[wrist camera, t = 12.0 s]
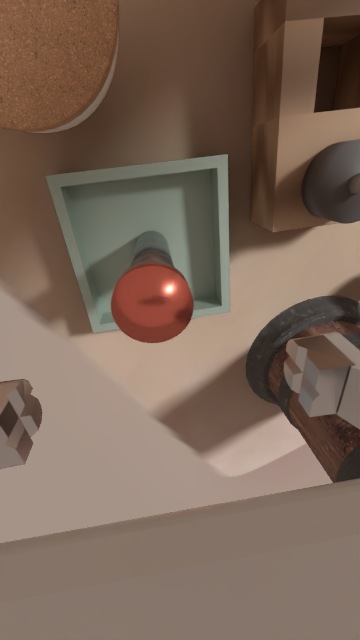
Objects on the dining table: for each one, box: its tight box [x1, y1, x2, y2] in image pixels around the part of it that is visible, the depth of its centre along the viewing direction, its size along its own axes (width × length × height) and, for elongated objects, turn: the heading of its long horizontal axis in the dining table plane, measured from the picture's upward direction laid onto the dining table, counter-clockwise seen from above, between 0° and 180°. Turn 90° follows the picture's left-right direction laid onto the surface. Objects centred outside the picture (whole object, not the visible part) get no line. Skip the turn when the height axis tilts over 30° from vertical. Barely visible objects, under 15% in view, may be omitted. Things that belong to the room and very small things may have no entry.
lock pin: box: [111, 231, 194, 343], centre depth 19 cm, size 4×4×13 cm
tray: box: [45, 154, 230, 333], centre depth 24 cm, size 13×13×3 cm
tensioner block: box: [250, 0, 360, 232], centre depth 19 cm, size 14×9×8 cm, turn 6°
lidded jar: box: [0, 0, 119, 133], centre depth 14 cm, size 11×11×9 cm
